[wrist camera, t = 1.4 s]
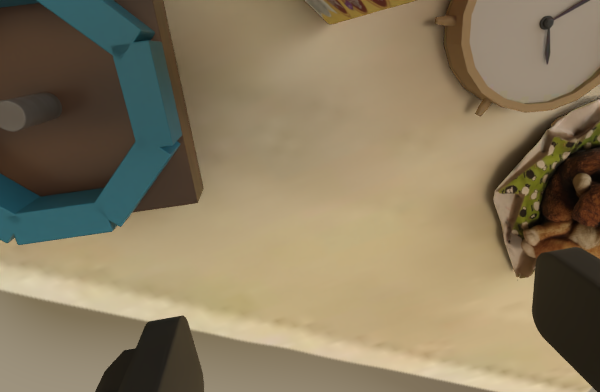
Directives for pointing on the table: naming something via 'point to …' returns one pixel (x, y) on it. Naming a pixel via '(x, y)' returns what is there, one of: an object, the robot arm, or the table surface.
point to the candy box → (350, 8)
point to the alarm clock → (524, 50)
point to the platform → (79, 108)
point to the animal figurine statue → (554, 192)
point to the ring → (143, 117)
